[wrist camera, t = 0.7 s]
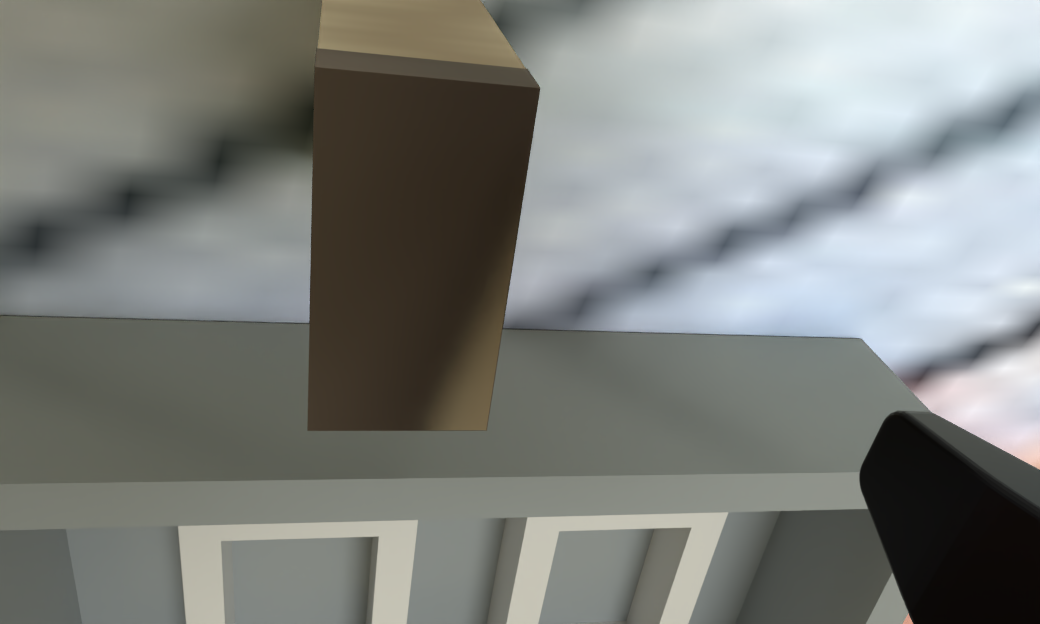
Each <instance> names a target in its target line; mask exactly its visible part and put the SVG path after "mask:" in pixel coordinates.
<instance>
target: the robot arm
mask: <svg viewBox="0 0 1040 624" xmlns="http://www.w3.org/2000/svg"><path fill="white" fill-rule="evenodd" d="M859 483H860V489H861V492H862V495H863V497H864V500H865V502H866V505H867V508H868V510H869V513H870V515H871V518H872V521H873V523H874V526H875V528H876V531H877V534H878V536H879V539H880V541H881V544H882V547H883V549H884V552H885V554H886V557H887V560H888V562H889V565H890V568H891V570H892V573H893V575H894V578H895V581H896V583H897V586H898V588H899V591H900V594H901V596H902V598H903V601H904V603H905V606H906V608H907V611H908V613H909V615H910V618H911V620H912V622H913V624H1040V470H1039V469H1037V468H1035V467H1033V466H1032V465H1030V464H1028V463H1026V462H1024V461H1022V460H1020V459H1018V458H1017V457H1015V456H1013V455H1011V454H1009V453H1007V452H1005V451H1003V450H1002V449H1000V448H998V447H996V446H994V445H992V444H990V443H988V442H987V441H985V440H983V439H981V438H979V437H977V436H975V435H973V434H972V433H970V432H968V431H966V430H964V429H962V428H960V427H958V426H957V425H955V424H953V423H951V422H949V421H947V420H945V419H943V418H942V417H940V416H938V415H936V414H934V413H931V412H927V411H912V410H897V411H894V412H891V413H890V414H889V415H888V416H887V417H886V418H885V419H884V421H883V423H882V425H881V427H880V429H879V431H878V433H877V435H876V437H875V439H874V441H873V443H872V445H871V447H870V449H869V451H868V453H867V455H866V457H865V459H864V461H863V463H862V465H861V468H860V473H859Z"/></svg>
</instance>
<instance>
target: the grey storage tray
mask: <svg viewBox="0 0 1040 624" xmlns="http://www.w3.org/2000/svg"><path fill="white" fill-rule="evenodd" d="M308 373H309V324H289V323H252V322H214V321H177V320H139V319H102V318H65V317H27V316H0V624H903V622H904V620H905V618H906V616H907V615H908V611H907V608H906V606H905V603H904V601H903V598H902V596H901V594H900V591H899V588H898V586H897V583H896V581H895V578H894V575H893V573H892V570H891V568H890V565H889V562H888V560H887V557H886V554H885V552H884V549H883V547H882V544H881V541H880V539H879V536H878V534H877V531H876V528H875V526H874V523H873V521H872V518H871V515H870V513H869V510H868V508H867V505H866V502H865V500H864V497H863V495H862V492H861V489H860V483H859V473H860V468H861V465H862V463H863V461H864V459H865V457H866V455H867V453H868V451H869V449H870V447H871V445H872V443H873V441H874V439H875V437H876V435H877V433H878V431H879V429H880V427H881V425H882V423H883V421H884V419H885V418H886V417H887V416H888V415H889V414H890V413H891V412H894V411H897V410H912V411H927V412H931V411H930V410H929V409H928V408H927V407H926V406H925V405H924V404H923V403H922V402H921V401H920V400H919V399H918V398H917V397H916V396H915V395H914V394H913V393H912V391H911V390H910V389H909V388H908V387H907V386H906V385H905V384H904V383H903V382H902V381H901V380H900V379H899V378H898V377H897V376H896V375H895V374H894V373H893V371H892V370H891V369H890V368H889V367H888V366H887V365H886V364H885V363H884V362H883V361H882V360H881V359H880V358H879V357H878V356H877V355H876V354H875V353H874V352H873V350H872V349H871V348H870V347H869V346H868V345H867V344H866V343H865V342H864V341H863V340H862V339H851V338H814V337H776V336H739V335H701V334H664V333H626V332H589V331H551V330H514V329H503V330H502V336H501V343H500V349H499V356H498V362H497V368H496V375H495V381H494V388H493V394H492V401H491V407H490V413H489V420H488V426H487V431H307V423H308ZM931 413H932V412H931Z"/></svg>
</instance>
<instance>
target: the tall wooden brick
mask: <svg viewBox="0 0 1040 624" xmlns="http://www.w3.org/2000/svg"><path fill="white" fill-rule="evenodd" d="M539 93H540V87H539V85H538V84H537V82H536V81H535V80H534V78H533V77H532V75H531V74H530V72H529V71H528V69H526V68H525V67H524V65H523V64H522V62H521V61H520V59H519V58H518V56H517V55H516V53H515V52H514V50H513V49H512V47H511V46H510V44H509V43H508V41H507V40H506V38H505V37H504V35H503V34H502V32H501V31H500V29H499V28H498V26H497V25H496V23H495V22H494V20H493V19H492V17H491V16H490V14H489V13H488V11H487V10H486V8H485V7H484V5H483V4H482V2H481V1H480V0H322V7H321V18H320V28H319V38H318V48H317V49H316V59H315V77H314V126H313V176H312V225H311V274H310V324H309V373H308V423H307V431H487V426H488V420H489V413H490V407H491V401H492V394H493V388H494V381H495V375H496V368H497V362H498V356H499V349H500V343H501V336H502V330H503V324H504V317H505V311H506V304H507V298H508V292H509V285H510V279H511V272H512V266H513V259H514V253H515V247H516V240H517V234H518V227H519V221H520V215H521V208H522V202H523V195H524V189H525V182H526V176H527V170H528V163H529V157H530V150H531V144H532V138H533V131H534V125H535V118H536V112H537V106H538V99H539Z"/></svg>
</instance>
